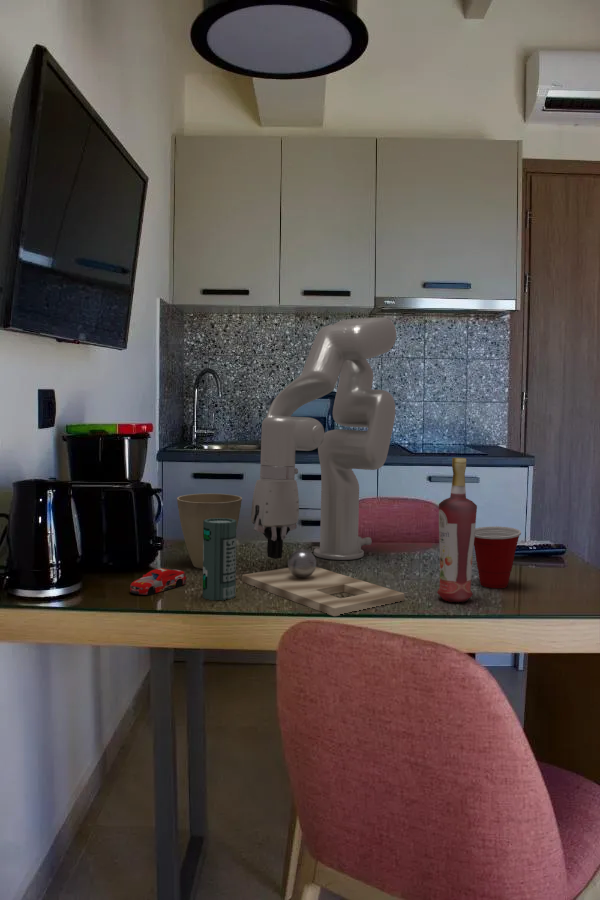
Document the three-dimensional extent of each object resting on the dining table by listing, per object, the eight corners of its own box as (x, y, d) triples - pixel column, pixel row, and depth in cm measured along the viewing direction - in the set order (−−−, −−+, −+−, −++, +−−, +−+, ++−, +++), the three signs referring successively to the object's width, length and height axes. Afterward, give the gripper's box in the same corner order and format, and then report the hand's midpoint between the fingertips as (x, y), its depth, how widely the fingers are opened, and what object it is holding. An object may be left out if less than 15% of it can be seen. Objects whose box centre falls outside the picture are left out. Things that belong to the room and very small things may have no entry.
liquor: (480, 604, 140) (485, 459, 138) (444, 605, 138) (449, 459, 137) (463, 594, 147) (468, 456, 145) (430, 595, 146) (434, 456, 144)
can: (216, 590, 146) (216, 517, 145) (240, 595, 143) (241, 520, 142) (197, 597, 141) (197, 521, 140) (222, 602, 138) (223, 524, 137)
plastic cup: (456, 581, 158) (458, 526, 157) (497, 577, 162) (499, 524, 161) (487, 593, 148) (489, 535, 147) (530, 589, 152) (532, 532, 151)
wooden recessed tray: (242, 581, 154) (242, 574, 154) (308, 570, 165) (308, 564, 165) (334, 616, 130) (334, 608, 130) (404, 601, 141) (404, 593, 141)
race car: (142, 599, 140) (142, 579, 140) (123, 594, 143) (123, 574, 143) (190, 585, 151) (190, 566, 151) (172, 581, 154) (172, 562, 154)
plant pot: (172, 560, 173) (172, 494, 172) (233, 557, 178) (233, 492, 177) (181, 574, 159) (182, 502, 158) (247, 571, 164) (248, 501, 162)
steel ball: (304, 573, 156) (304, 545, 156) (321, 578, 152) (322, 550, 151) (281, 576, 153) (282, 548, 152) (299, 582, 148) (299, 553, 147)
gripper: (294, 472, 165) (291, 551, 166) (239, 473, 156) (236, 557, 157) (314, 474, 159) (311, 557, 160) (259, 476, 150) (256, 563, 151)
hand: (274, 557), depth 158 cm, fingers closed
